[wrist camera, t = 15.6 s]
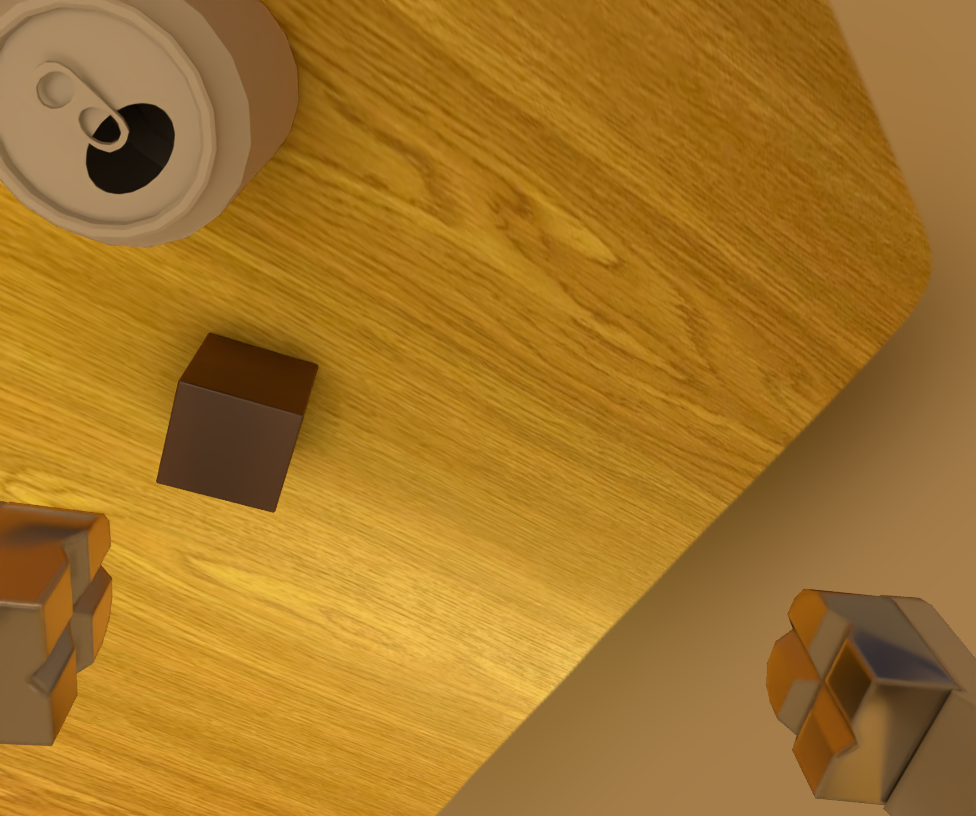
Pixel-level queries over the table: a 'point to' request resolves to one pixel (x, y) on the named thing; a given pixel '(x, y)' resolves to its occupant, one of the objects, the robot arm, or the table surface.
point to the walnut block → (236, 422)
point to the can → (139, 111)
